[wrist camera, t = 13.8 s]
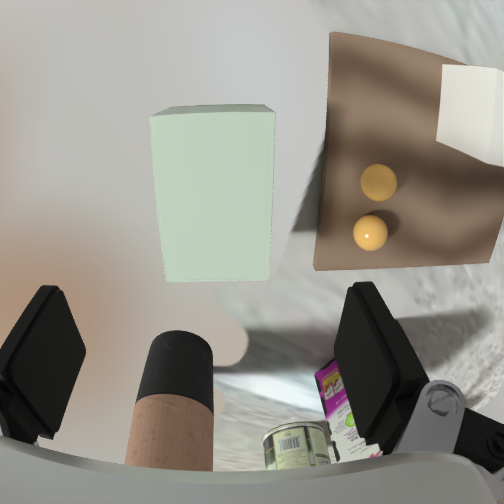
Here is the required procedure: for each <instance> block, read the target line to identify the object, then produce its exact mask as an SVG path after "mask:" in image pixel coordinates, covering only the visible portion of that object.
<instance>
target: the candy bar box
mask: <svg viewBox="0 0 504 504" xmlns="http://www.w3.org/2000/svg"><path fill="white" fill-rule="evenodd" d="M314 376H315V379H316V384H317V387H318V391H319V395H320V398H321V402H322V406H323V410H324V413H325V418H326V422H327V425H328V428H329V432H330V437H331V441H332V444H333V449H334V453H335V457H336V460H337V463H341V462H348V461H354V460H359V459H365V458H371V457H377V456H379V455H380V454H381V452H382V451H381V450H380V449H379V446H378V444H374V445H369V446H366V443H365V439H364V438H360V437H359V435H358V432H357V429H356V425H355V422H354V418H353V415H352V411H351V408H350V405H349V401H348V398H347V395H346V391H345V388H344V385H343V381H342V378H341V375H340V372H339V368H338V365H337V362H336V359H334V360H333V361H331V362H330V363H329V364H327V365H326V366H325V367H323V368H322V369H321V370H319V371H318V372H317V373H315V374H314Z"/></svg>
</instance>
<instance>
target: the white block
mask: <svg viewBox="0 0 504 504" xmlns="http://www.w3.org/2000/svg"><path fill="white" fill-rule="evenodd" d="M436 141H438V142H440V143H443V144H445V145H447V146H450V147H452V148H454V149H457V150H459V151H461V152H463V153H466V154H468V155H470V156H472V157H474V158H477V159H479V160H481V161H483V162H485V163H487V164H492V165H497V166H502V167H504V71H501V70H499V69H497V68H488V67H478V66H465V65H447V64H442V84H441V98H440V109H439V119H438V128H437V136H436Z"/></svg>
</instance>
